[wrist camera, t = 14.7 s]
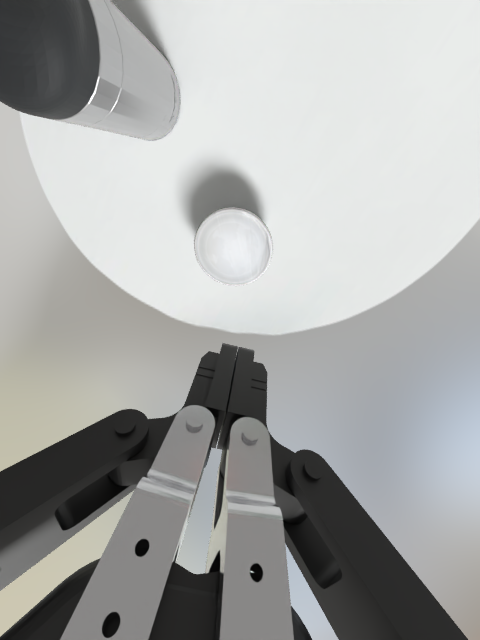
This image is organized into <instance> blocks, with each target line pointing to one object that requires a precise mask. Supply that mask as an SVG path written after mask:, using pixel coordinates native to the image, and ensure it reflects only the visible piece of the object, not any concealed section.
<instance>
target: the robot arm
mask: <svg viewBox="0 0 480 640" xmlns="http://www.w3.org/2000/svg"><path fill="white" fill-rule="evenodd" d="M0 101H1V102H2V103H4V104H6V105H8V106H9V107H12V108H13V109H15V110H18V111H21V112H23V113H27V114H30V115H34V116H38V117H43V118H48V119H52V120H57V121H61V122H66V123H70V124H76V125H81V126H85V127H90V128H94V129H99V130H103V131H108V132H112V133H117V134H121V135H126V136H130V137H135V138H139V139H144V140H157V139H161V138H162V137H164V136H166V135H167V134H168V133H169V132H170V131H171V130H172V128H173V127H174V125H175V123H176V121H177V118H178V115H179V109H180V92H179V86H178V82H177V79H176V76H175V73H174V71H173V69H172V67H171V65H170V64H169V62H168V61H167V60H166V58H165V57H164V56H163V55H162V54H161V53H160V51H159V50H158V49H157V48H156V47H155V46H154V45H153V44H152V43H151V42H150V41H149V40H148V39H147V38H146V37H145V36H144V35H143V34H142V33H141V32H140V31H139V30H138V28H137V27H136V26H135V25H134V24H133V23H132V22H131V21H130V20H129V19H128V18H127V17H126V16H125V15H124V14H123V13H122V12H121V11H120V10H119V9H118V8H117V7H116V6H115V5H114V4H113V3H112V2H111V1H110V0H0ZM237 349H238V347H237V346H233V345H229V344H224V343H223V344H222V348H221V351H220V354H218V353H214V352H210V351H209V352H208V353H207V354H205V355H204V356H203V357H202V358H201V361H200V364H199V367H198V369H197V372H196V375H195V378H194V380H193V383H192V386H191V388H190V391H189V394H188V397H187V399H186V402H185V404H184V406H183V407H182V409H181V410H180V411H179V412H177V413H176V414H174V415H172V416H170V417H166V418H157V419H147V417H146V416H145V414H143V413H142V412H140V411H138V410H134V409H126V410H121V411H118V412H116V413H114V414H112V415H110V416H108V417H106V418H104V419H102V420H100V421H98V422H97V423H95V424H93V425H91V426H89V427H87V428H85V429H83V430H81V431H79V432H77V433H75V434H73V435H71V436H69V437H67V438H65V439H63V440H61V441H59V442H57V443H55V444H53V445H52V446H50V447H48V448H46V449H44V450H42V451H40V452H38V453H36V454H34V455H32V456H30V457H28V458H26V459H24V460H22V461H20V462H18V463H16V464H14V465H12V466H10V467H8V468H7V469H4V470H3V471H1V472H0V591H1V590H2V589H3V588H5V587H6V586H7V585H9V584H10V583H11V582H12V581H14V580H15V579H16V578H18V577H19V576H21V575H22V574H23V573H25V572H26V571H27V570H28V569H30V568H31V567H32V566H34V565H35V564H36V563H38V562H39V561H40V560H42V559H43V558H44V557H46V556H47V555H48V554H50V553H51V552H52V551H53V550H55V549H56V548H58V547H59V546H60V545H61V544H63V543H64V542H66V541H67V540H68V539H70V538H71V537H72V536H74V535H75V534H76V533H77V532H79V531H80V530H81V529H83V528H84V527H85V526H87V525H88V524H89V523H91V522H92V521H93V520H95V519H96V518H97V517H99V516H100V515H101V514H103V513H104V512H105V511H107V510H108V509H109V508H111V507H112V506H113V505H115V504H116V503H117V502H119V501H120V500H121V499H123V498H124V497H125V496H127V495H128V494H129V493H130V492H132V491H133V490H134V489H135V490H134V492H133V494H132V496H131V498H130V501H129V502H128V504H127V506H126V508H125V510H124V513H123V514H122V516H121V519H120V520H119V522H118V524H117V527H116V529H115V531H114V533H113V535H112V537H111V539H110V541H109V543H108V545H107V547H106V549H105V551H104V553H103V555H102V557H101V558H100V559H98V560H96V561H93V562H91V563H89V564H88V565H86V566H84V567H82V568H81V569H79V570H78V571H76V572H75V573H74V574H72V575H71V576H69V577H68V578H66V579H65V580H64V581H63V582H62V583H61V584H59V585H58V586H57V587H56V588H55V589H54V590H53V591H51V592H50V593H49V594H48V595H47V596H46V597H45V598H44V599H43V600H41V601H40V602H39V603H38V604H37V605H36V606H35V607H34V608H33V609H31V610H30V611H29V612H28V613H27V614H26V615H24V616H23V617H22V618H21V619H20V620H19V621H18V622H17V623H16V624H14V625H13V626H12V627H11V628H10V629H9V630H8V631H6V632H5V633H4V634H3V635H2V636H1V637H0V640H312V638H311V636H310V634H309V632H308V630H307V629H306V627H305V625H304V624H303V622H302V620H301V619H300V617H299V616H298V614H297V613H296V612H295V610H294V609H293V608H292V606H291V603H290V592H289V582H288V581H289V580H288V570H287V559H286V548H285V543H286V545H287V547H288V548H289V550H290V552H291V554H292V556H293V558H294V560H295V561H296V563H297V565H298V567H299V569H300V570H301V572H302V574H303V576H304V577H305V579H306V581H307V583H308V585H309V587H310V588H311V590H312V592H313V594H314V596H315V597H316V599H317V601H318V603H319V605H320V606H321V608H322V610H323V612H324V614H325V616H326V617H327V619H328V621H329V623H330V625H331V626H332V628H333V630H334V632H335V634H336V635H337V637H338V639H339V640H468V639H467V638H466V636H465V635H464V634H463V633H462V631H461V630H460V629H459V628H458V626H457V625H456V624H455V623H454V621H453V620H452V619H451V618H450V616H449V615H448V614H447V613H446V611H445V610H444V609H443V608H442V606H441V605H440V604H439V602H438V601H437V600H436V599H435V598H434V596H433V595H432V594H431V592H430V591H429V590H428V589H427V587H426V586H425V585H424V584H423V582H422V581H421V580H420V579H419V577H418V576H417V575H416V574H415V572H414V571H413V570H412V569H411V567H410V566H409V565H408V564H407V562H406V561H405V560H404V559H403V557H402V556H401V555H400V554H399V552H398V551H397V550H396V549H395V547H394V546H393V545H392V544H391V542H390V541H389V540H388V539H387V537H386V536H385V535H384V534H383V532H382V531H381V530H380V529H379V527H378V526H377V525H376V524H375V522H374V521H373V520H372V519H371V518H370V516H369V515H368V514H367V512H366V511H365V510H364V509H363V508H362V506H361V505H360V504H359V502H358V501H357V500H356V499H355V498H354V496H353V495H352V494H351V492H350V491H349V490H348V489H347V487H346V486H345V485H344V484H343V482H342V481H341V480H340V478H339V477H338V476H337V475H336V474H335V472H334V471H333V470H332V468H331V467H330V466H329V465H328V463H327V462H326V461H325V460H324V459H323V458H322V457H321V456H320V455H318V454H317V453H315V452H313V451H310V450H300V451H297V452H296V453H294V452H292V451H291V450H289V449H287V448H286V447H284V446H282V445H281V444H279V443H278V442H277V441H275V440H274V438H273V437H272V436H271V435H270V433H269V431H268V428H267V425H266V407H267V371H266V369H265V367H264V365H263V364H261V363H257V362H253V359H254V350H250V349H246V348H242V347H239V349H238V352H237ZM236 353H237V356H236ZM235 359H236V360H235ZM220 430H221V431H220ZM219 433H220V436H219ZM218 437H219V441H218ZM217 441H218V446H217V449H222V456H221V462H220V465H219V469H218V475H217V484H216V494H215V503H214V512H213V522H212V530H211V537H210V542H209V548H208V555H207V562H206V571H205V573H204V574H193V573H191V572H189V571H188V570H186V569H185V568H183V567H181V566H180V565H178V564H177V563H176V562H177V558H178V555H179V552H180V549H181V545H182V542H183V538H184V535H185V531H186V527H187V524H188V520H189V517H190V514H191V511H192V507H193V504H194V501H195V497H196V494H197V490H198V487H199V484H200V481H201V477H202V474H203V471H204V468H205V467H206V465H207V462H208V458H209V455H210V450H211V447H212V448H216V444H217Z"/></svg>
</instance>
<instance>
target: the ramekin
mask: <svg viewBox="0 0 480 640" xmlns="http://www.w3.org/2000/svg"><path fill="white" fill-rule="evenodd" d="M194 249H195V255H196V258H197V261H198V263H199V265H200V266H201V268H202V269H203V271H204V272H205V273H206V274H207V275H208V276H210V277H211V278H212V279H214V280H215V281H217V282H219V283H222V284H225V285H230V286H240V285H245V284H249V283H251V282H253V281H255V280H256V279H258V278H259V277H260V276H261V275H262V274H263V273H264V272H265V271H266V270H267V268H268V266H269V264H270V262H271V259H272V254H273V243H272V237H271V234H270V232H269V230H268V228H267V226H266V225H265V223H264V222H263V221H262V220H261V219H260V218H259V217H258V216H257V215H255V214H254V213H252V212H250V211H248V210H245V209H242V208H236V207H229V208H223V209H220V210H217V211H215V212H213V213H212V214H210V215H209V216H208V217H207V218H206V219H205V220H204V221H203V222H202V223H201V225H200V226H199V228H198V230H197V232H196V236H195V240H194Z"/></svg>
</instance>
